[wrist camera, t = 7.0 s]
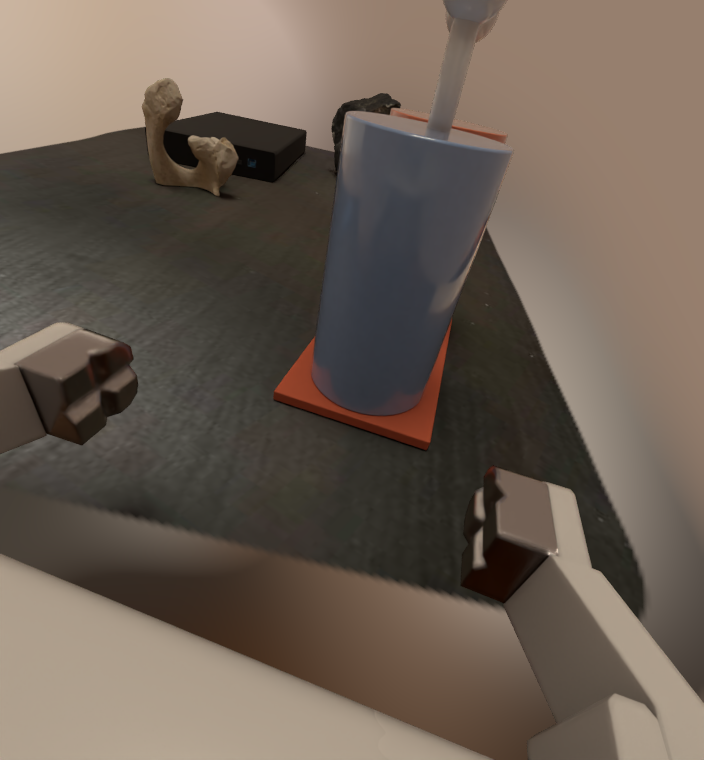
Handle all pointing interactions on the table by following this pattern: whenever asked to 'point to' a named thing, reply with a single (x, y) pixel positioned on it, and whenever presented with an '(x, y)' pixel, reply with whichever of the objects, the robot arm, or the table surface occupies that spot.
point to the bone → (210, 152)
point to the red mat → (400, 427)
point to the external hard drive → (238, 143)
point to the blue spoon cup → (404, 238)
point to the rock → (374, 105)
